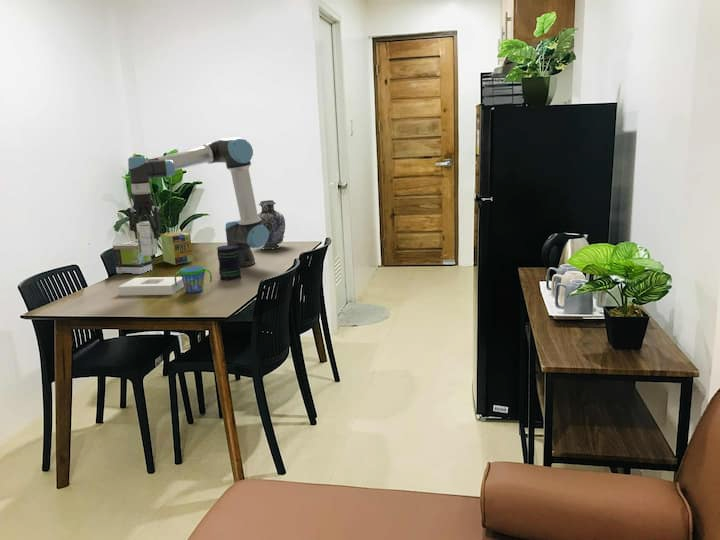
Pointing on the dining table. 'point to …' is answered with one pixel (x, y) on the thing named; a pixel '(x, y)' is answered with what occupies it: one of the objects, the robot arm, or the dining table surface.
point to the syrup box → (145, 239)
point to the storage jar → (229, 262)
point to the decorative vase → (272, 224)
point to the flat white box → (151, 286)
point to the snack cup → (193, 278)
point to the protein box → (177, 247)
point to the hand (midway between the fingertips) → (147, 246)
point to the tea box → (131, 259)
